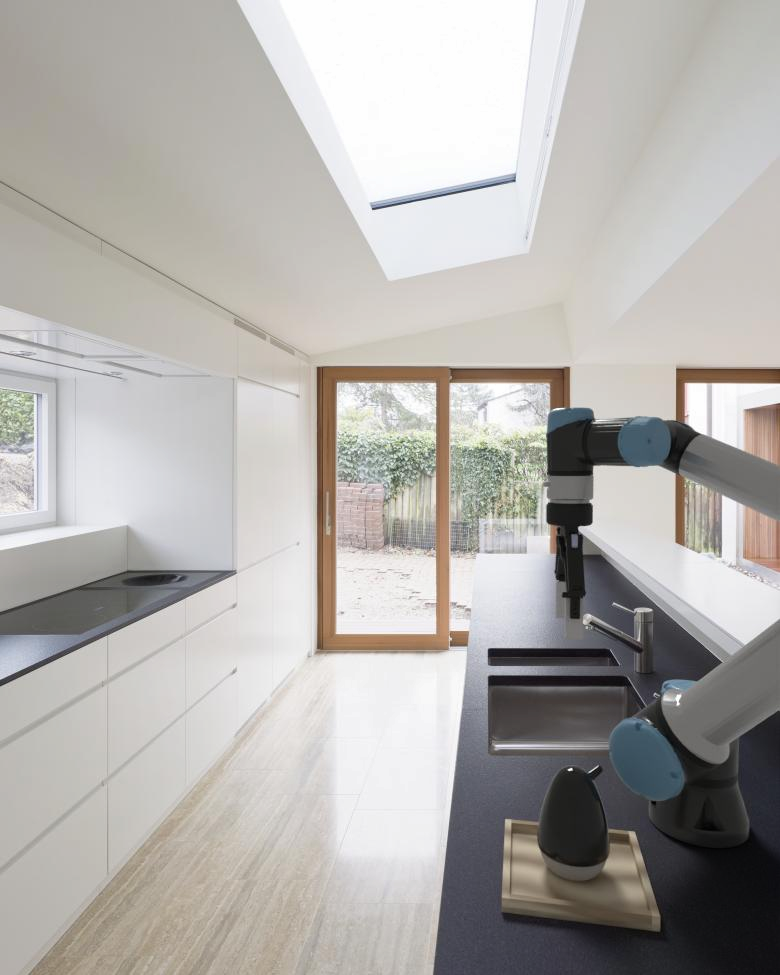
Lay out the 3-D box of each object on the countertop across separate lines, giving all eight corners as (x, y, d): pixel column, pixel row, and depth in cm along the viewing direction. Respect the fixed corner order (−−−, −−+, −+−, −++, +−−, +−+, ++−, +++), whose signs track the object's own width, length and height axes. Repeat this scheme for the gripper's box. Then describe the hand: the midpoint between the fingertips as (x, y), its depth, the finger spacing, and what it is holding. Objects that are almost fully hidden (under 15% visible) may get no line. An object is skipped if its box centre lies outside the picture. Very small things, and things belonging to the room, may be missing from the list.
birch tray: (505, 830, 110) (505, 818, 110) (634, 844, 106) (634, 831, 106) (501, 912, 90) (501, 897, 90) (660, 931, 87) (660, 916, 87)
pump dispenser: (626, 879, 96) (628, 774, 96) (569, 900, 92) (571, 790, 91) (576, 842, 105) (577, 746, 105) (522, 860, 101) (523, 760, 100)
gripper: (540, 496, 126) (539, 610, 127) (554, 506, 101) (553, 647, 102) (581, 497, 125) (580, 611, 126) (606, 506, 100) (604, 649, 101)
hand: (568, 627), depth 114 cm, fingers open, 13 cm apart
